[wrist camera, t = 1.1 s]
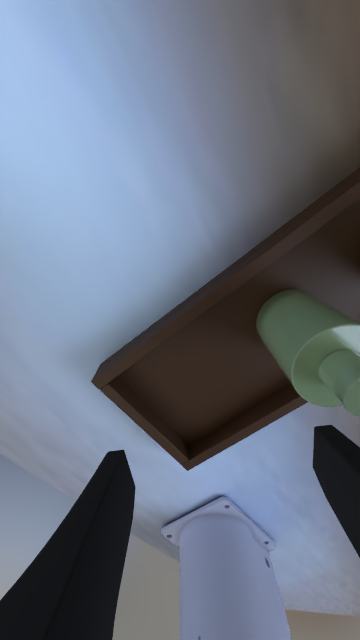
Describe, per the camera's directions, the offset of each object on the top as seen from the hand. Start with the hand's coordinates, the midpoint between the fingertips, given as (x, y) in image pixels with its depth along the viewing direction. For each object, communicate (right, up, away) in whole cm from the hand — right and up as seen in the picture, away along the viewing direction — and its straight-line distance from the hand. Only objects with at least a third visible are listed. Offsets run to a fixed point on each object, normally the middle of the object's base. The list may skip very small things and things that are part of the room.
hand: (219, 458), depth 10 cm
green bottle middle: (+6, +5, +8) cm, 11 cm away
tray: (+6, +6, +8) cm, 12 cm away
